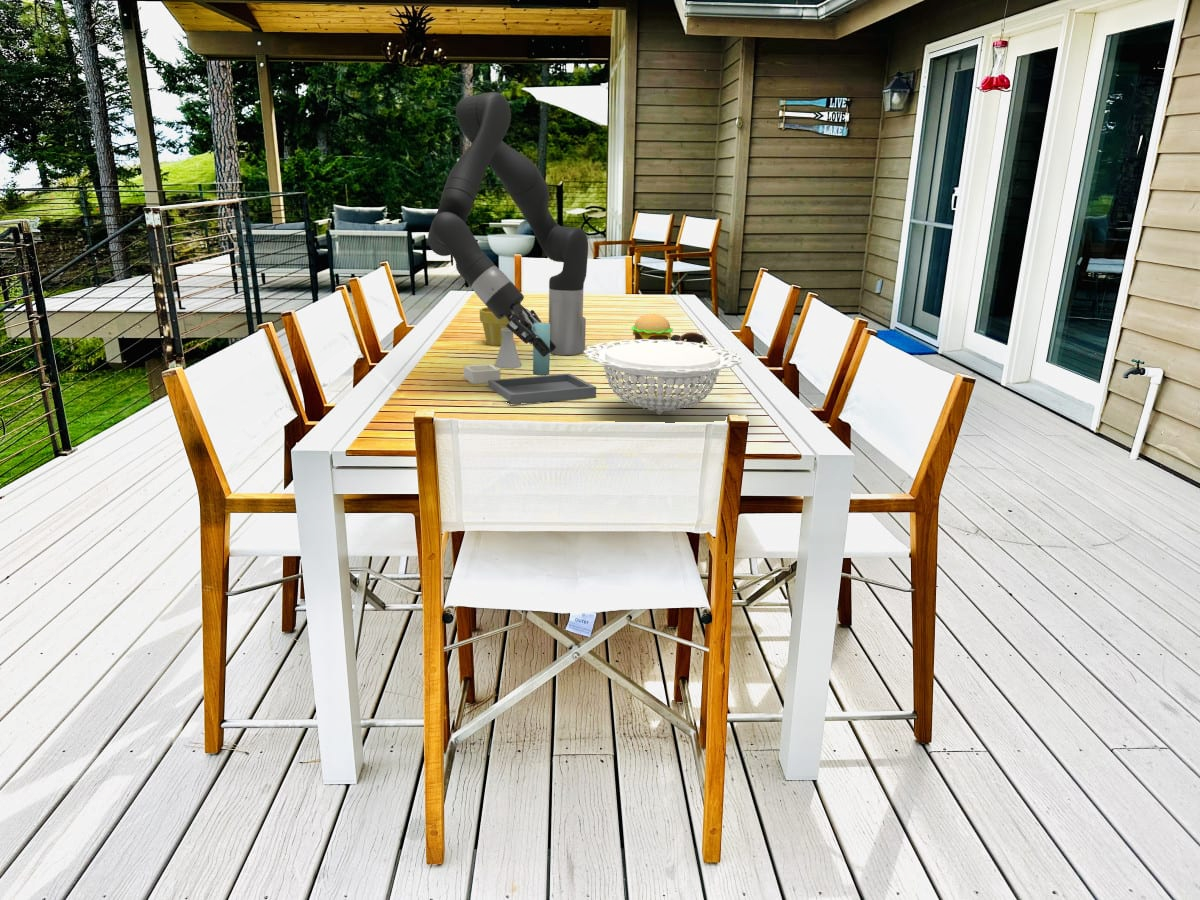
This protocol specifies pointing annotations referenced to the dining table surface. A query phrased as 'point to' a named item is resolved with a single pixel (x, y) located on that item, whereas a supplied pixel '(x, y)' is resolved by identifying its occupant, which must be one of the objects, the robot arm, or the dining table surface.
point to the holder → (481, 373)
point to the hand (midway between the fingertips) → (550, 351)
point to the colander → (661, 370)
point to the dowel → (538, 360)
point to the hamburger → (652, 328)
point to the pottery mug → (690, 338)
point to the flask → (507, 352)
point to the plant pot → (492, 326)
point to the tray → (542, 388)
